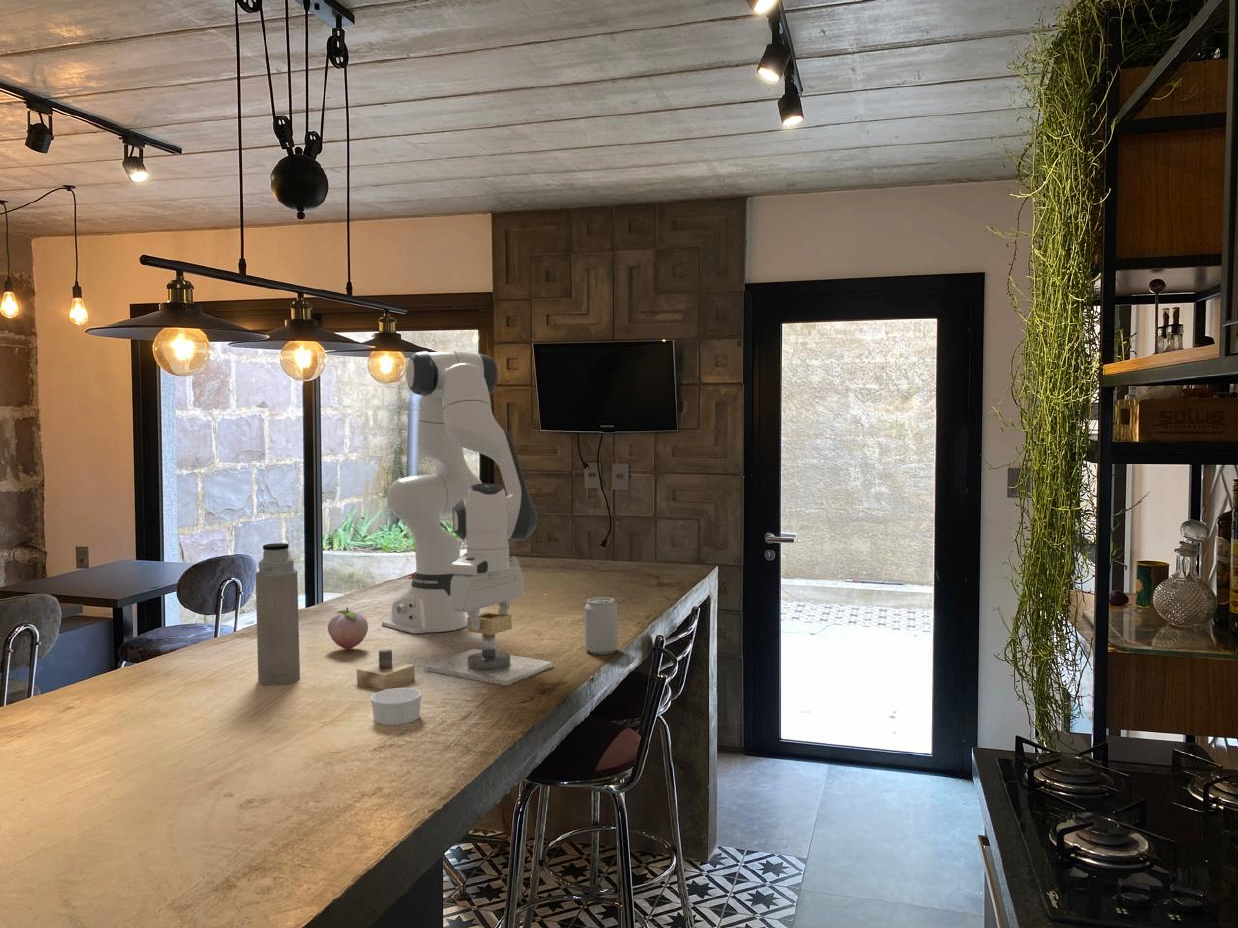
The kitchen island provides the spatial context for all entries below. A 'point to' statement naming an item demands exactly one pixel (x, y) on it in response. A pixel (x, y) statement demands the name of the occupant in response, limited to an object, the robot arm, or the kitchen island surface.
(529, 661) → the stone base with peg
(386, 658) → the stand
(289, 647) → the thermos bottle
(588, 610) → the can
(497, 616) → the tan square hollow frame
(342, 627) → the decorative fruit
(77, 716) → the kitchen island surface
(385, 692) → the ramekin
